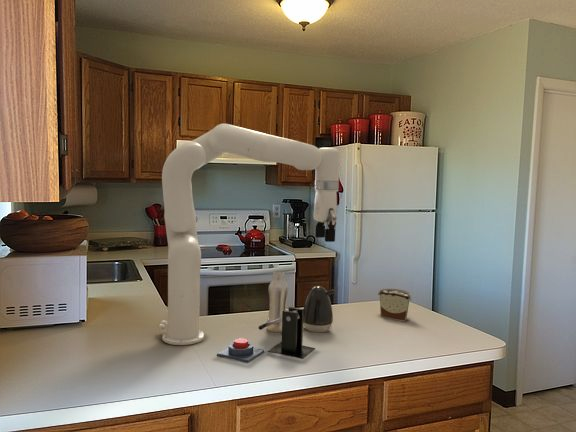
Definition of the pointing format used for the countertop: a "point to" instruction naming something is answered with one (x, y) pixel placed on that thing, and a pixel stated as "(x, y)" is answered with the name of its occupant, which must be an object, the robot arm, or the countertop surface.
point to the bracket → (292, 335)
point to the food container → (394, 303)
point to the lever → (273, 322)
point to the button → (241, 343)
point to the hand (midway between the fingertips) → (324, 239)
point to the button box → (241, 353)
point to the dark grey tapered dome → (318, 310)
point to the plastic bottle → (277, 300)
